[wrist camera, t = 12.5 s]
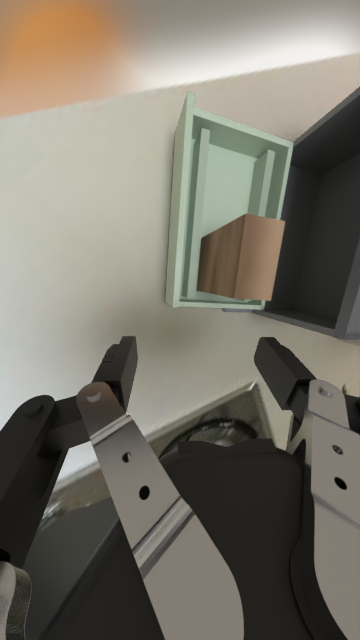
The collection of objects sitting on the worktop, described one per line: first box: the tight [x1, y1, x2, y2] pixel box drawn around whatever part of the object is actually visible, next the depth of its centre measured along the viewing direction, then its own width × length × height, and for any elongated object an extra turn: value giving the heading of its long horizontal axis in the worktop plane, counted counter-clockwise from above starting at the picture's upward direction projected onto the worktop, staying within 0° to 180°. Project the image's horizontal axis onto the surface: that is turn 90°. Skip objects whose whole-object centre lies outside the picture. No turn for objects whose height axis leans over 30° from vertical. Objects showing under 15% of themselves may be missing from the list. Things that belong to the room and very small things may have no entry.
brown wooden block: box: [196, 213, 285, 301], centre depth 21 cm, size 4×7×10 cm, turn 175°
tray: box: [165, 91, 294, 310], centre depth 23 cm, size 14×20×5 cm
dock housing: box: [223, 87, 360, 340], centre depth 22 cm, size 14×22×14 cm, turn 175°
